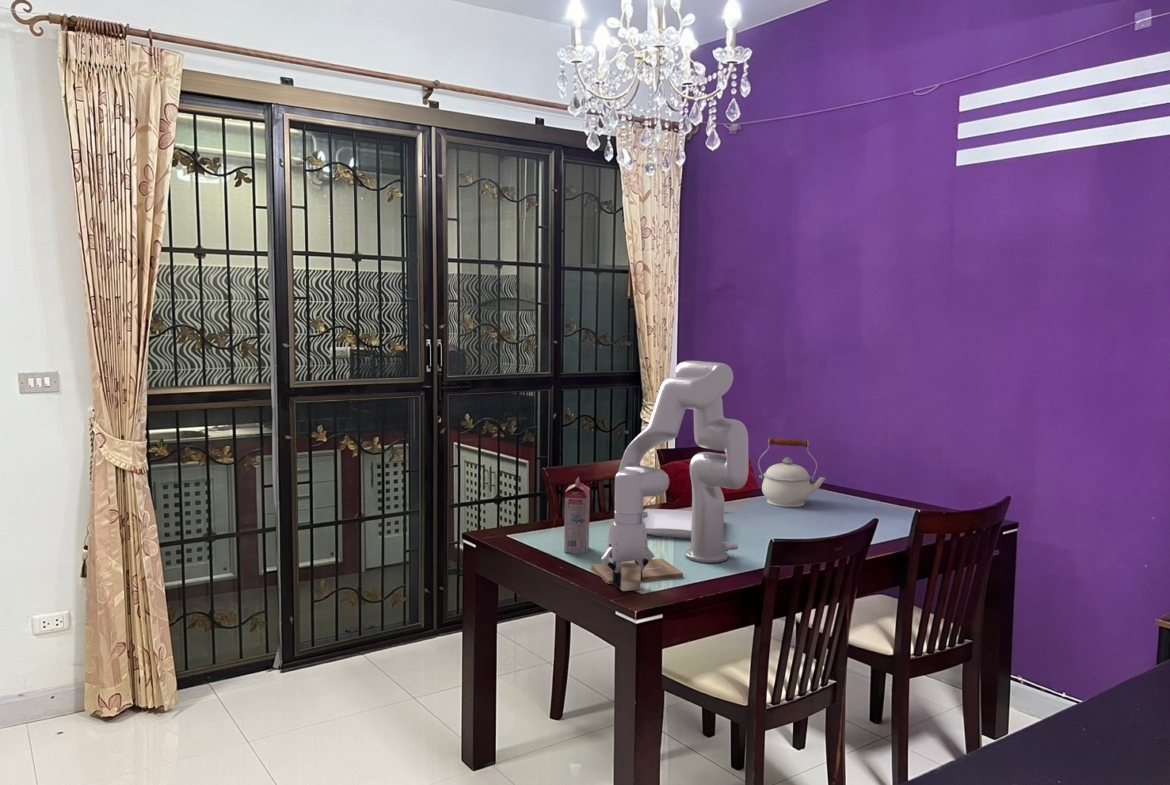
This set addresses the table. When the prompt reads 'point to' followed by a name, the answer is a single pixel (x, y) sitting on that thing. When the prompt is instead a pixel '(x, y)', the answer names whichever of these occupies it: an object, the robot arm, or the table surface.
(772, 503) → the kettle
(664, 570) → the board
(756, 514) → the table surface
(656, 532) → the square plate
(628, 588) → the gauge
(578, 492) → the juice carton
